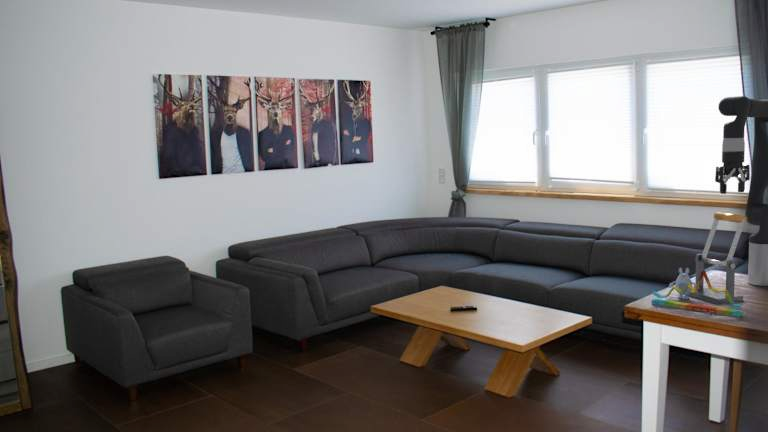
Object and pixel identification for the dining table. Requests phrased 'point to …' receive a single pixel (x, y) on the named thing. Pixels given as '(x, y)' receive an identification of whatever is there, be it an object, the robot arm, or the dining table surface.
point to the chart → (694, 306)
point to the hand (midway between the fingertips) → (732, 192)
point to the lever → (718, 216)
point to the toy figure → (683, 283)
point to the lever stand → (718, 296)
